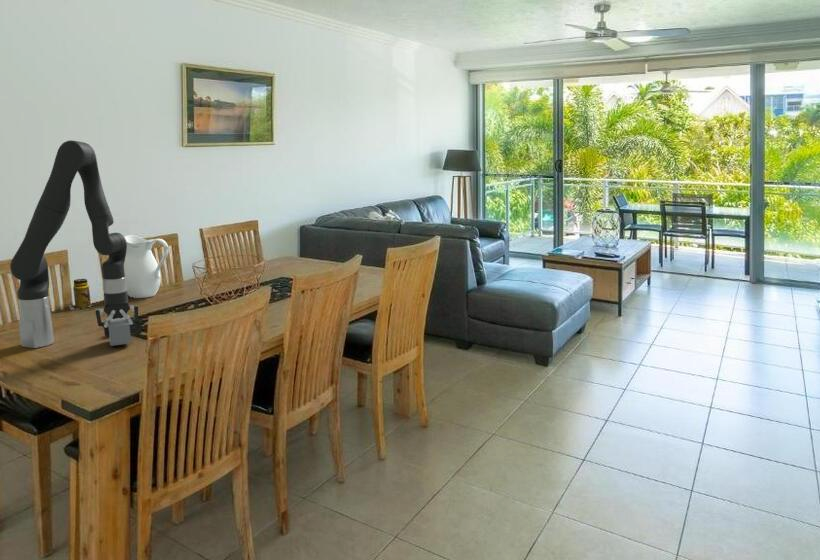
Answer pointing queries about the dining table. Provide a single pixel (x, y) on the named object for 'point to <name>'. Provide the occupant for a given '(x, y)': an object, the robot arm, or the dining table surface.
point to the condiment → (81, 294)
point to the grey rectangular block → (119, 331)
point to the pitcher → (142, 267)
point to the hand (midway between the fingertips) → (119, 335)
